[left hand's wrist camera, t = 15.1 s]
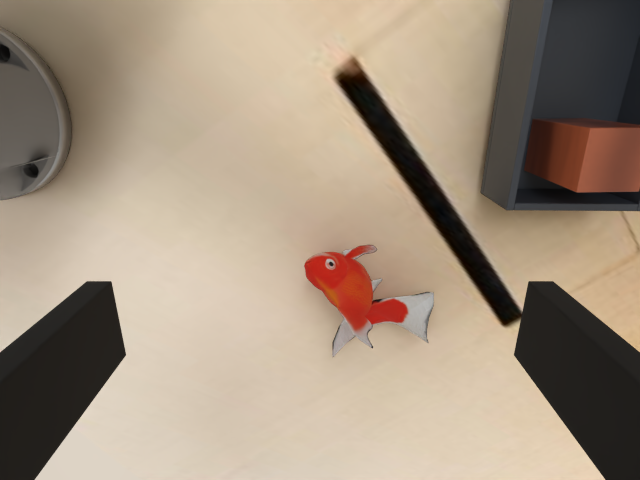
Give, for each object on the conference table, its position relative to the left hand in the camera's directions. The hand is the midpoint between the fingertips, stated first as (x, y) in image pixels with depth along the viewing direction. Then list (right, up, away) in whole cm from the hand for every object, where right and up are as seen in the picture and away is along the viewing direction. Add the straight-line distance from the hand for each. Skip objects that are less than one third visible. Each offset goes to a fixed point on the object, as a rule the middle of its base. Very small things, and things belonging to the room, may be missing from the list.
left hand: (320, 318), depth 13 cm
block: (+21, +11, +23) cm, 33 cm away
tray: (+21, +19, +20) cm, 35 cm away
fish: (+5, -2, +29) cm, 30 cm away
